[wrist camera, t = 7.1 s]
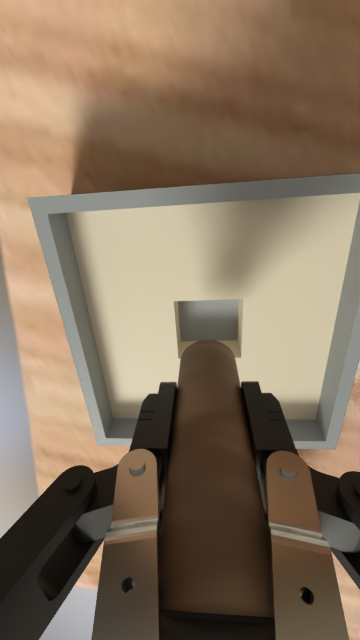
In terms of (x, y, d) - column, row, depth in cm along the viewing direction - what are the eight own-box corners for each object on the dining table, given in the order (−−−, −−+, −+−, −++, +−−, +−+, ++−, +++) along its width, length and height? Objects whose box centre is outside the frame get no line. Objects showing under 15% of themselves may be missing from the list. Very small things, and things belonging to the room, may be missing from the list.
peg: (236, 339, 14) (296, 607, 5) (235, 385, 15) (281, 662, 7) (178, 340, 14) (140, 597, 5) (182, 385, 16) (156, 652, 7)
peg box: (352, 173, 16) (409, 169, 12) (311, 400, 24) (335, 449, 20) (70, 194, 18) (27, 197, 14) (115, 400, 26) (97, 445, 21)
